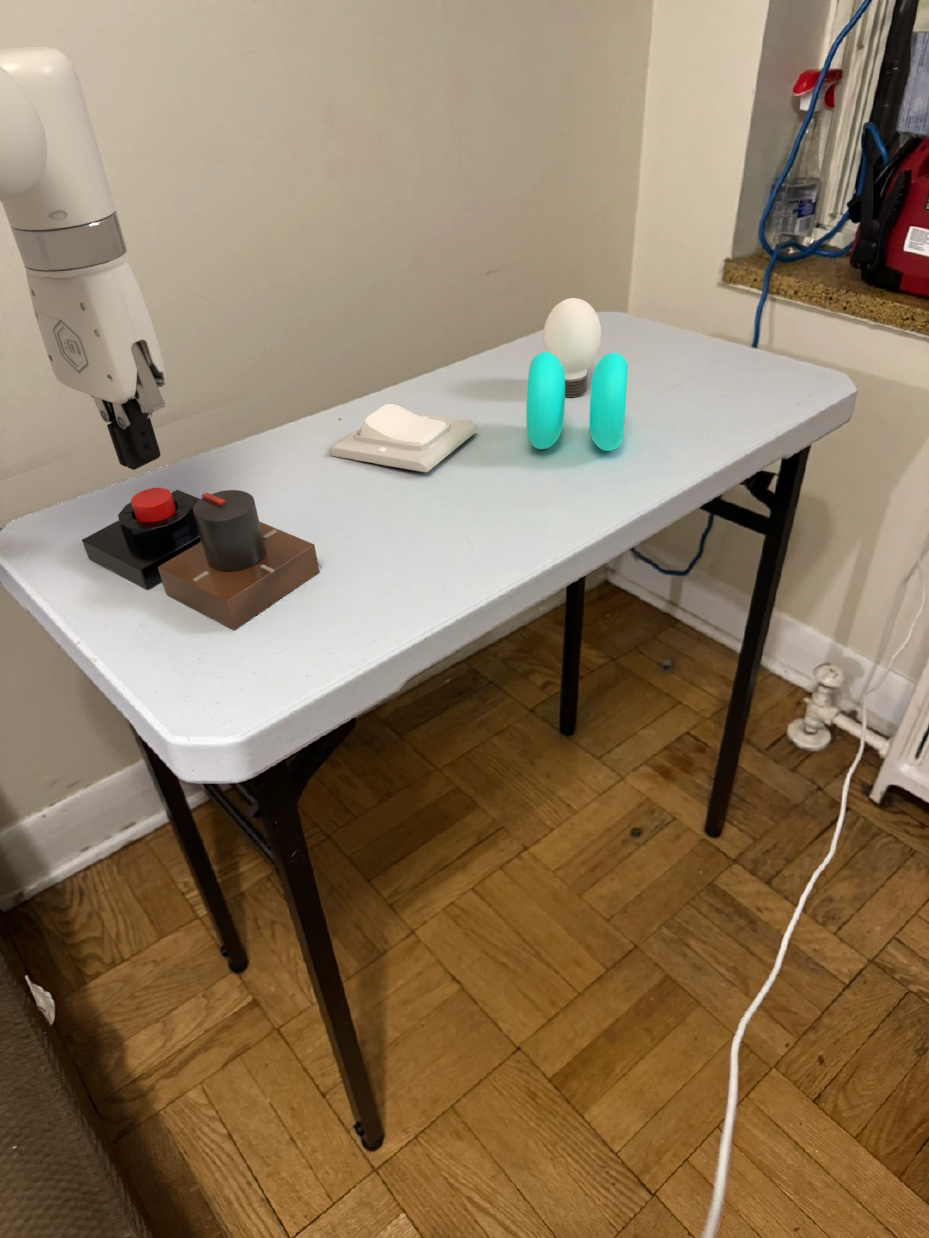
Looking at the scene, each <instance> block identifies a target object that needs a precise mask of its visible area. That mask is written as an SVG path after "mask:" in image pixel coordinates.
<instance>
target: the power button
mask: <svg viewBox="0 0 929 1238" xmlns="http://www.w3.org/2000/svg"><path fill="white" fill-rule="evenodd" d="M171 492H172V491H170V489H168V488H165V487H150V488H145V489H143V490H141V491H139V492H137V493H135V494H134V495H133V496H132V497H131V499H130V502H131V505H132V508H133V511H134V514H135V517H136V519H137V521H139V522H155V521H160V520H164V519H166V518H167V517H169V516H171V515H173V514H174V513H175V512H176V508H175V504H174V501H173V498H172V494H171Z"/></svg>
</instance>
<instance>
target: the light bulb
mask: <svg viewBox="0 0 929 1238" xmlns="http://www.w3.org/2000/svg"><path fill="white" fill-rule="evenodd" d="M600 321H601V320H600V319H599V316H598V314H597V311H596V310H595V309H594V308H593V306H592V305H591V304H590V303H589V302H587V301H586V300H584V299H581V298H578V297H576V298H575V297H570V298H566V299H564V300H562V301H560V302H559V303H557V304H556V305H555V306H554V307H553V308H552V309H551V311H550V312H549V313H548V316H547V318H546V320H545V324H544V328H543V346H544V352H549V353H552V354H554V355H555V356H556V357H557V358H558V359H559V360H560V362H561V364H562V366H563V369H564V373H565V398H576V397H581V396H583V395H585V394H586V393H587V392H588V382H589V379H588V378H589V372H588V367H590V366H591V364H592V363H593V362H594V360H595V359H596V357H597V355H598V353H599V351H600V347H601V343H602V327H601V322H600Z"/></svg>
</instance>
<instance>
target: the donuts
mask: <svg viewBox="0 0 929 1238" xmlns="http://www.w3.org/2000/svg"><path fill="white" fill-rule="evenodd" d="M627 386H628V362H627V359H626V358H625V357H624V355H622V354H620V353H618V352H609V353H607V354H604V355H603V356H602V357H600V359H598V361H597V363H596V364H595V366H594V368H593V372H592V375H591V383H590V396H589V397H590V399H589V419H588V420H589V422H588V423H589V424H588V425H589V426H588V427H589V435H590V437H591V439H592V441H593V443H594V444H595V446H596V447H598V449H600V450H602V451H604V452H611V451H614V450H617V449H618V448H619V447H620V446H621V444H622V443H623V440H624V433H625V421H626V420H625V419H626V404H627V389H628V388H627ZM565 401H566V397H565V373H564V369H563V366H562V364H561V362H560V360H559V359H558V358H557V357H556V356H555V355H554V354H552V353H549V352H545V351H541V352H539V353H537V354H536V355H535V356H533V358H532V359H531V362H530V366H529V368H528V376H527V388H526V410H525V414H526V415H525V416H526V417H525V418H526V419H525V420H526V433H527V435H526V436H527V438H528V442H529V443H530V444H531V445H532V447H534V448H536V449H539V450H545V449H546V450H547V449H549V448H551V447H552V446H554V445H555V444H556V442H557V441H558V439H559V438H560V436H561V434H562V431H563V427H564V420H565V419H564V418H565V405H566V404H565V403H566V402H565Z"/></svg>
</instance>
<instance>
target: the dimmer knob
mask: <svg viewBox="0 0 929 1238" xmlns="http://www.w3.org/2000/svg"><path fill="white" fill-rule="evenodd" d="M200 499H201V500H199V501H198V502H197V503H196V504H195V506H194V509H193V512H194V516H195V520H196V523H197V527H198V530H199V534H200V537H201V541H202V544H203V548H204V551H205V555H206V559H207V562H208V564H209V565H210V566H211V567H212V568H214V569H217V570H221V571H237V570H242V569H245V568H248V567H250V566H253V565H254V564H256V563H258V562H259V561H260V560H261V559H262V558H263V556H264V555H265V551H266V549H265V544H264V540H263V536H262V531H261V527H260V523H259V521H260V519H259V514H258V509H257V506H256V501H255V498H254V496H253V495H252V494H251V493H249V492H247V491H244V490H239V489H229V490H228V489H225V490H220V491H216V492H213V493H209V492H208V491H207V492H204V493H203V494H201V498H200Z"/></svg>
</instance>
